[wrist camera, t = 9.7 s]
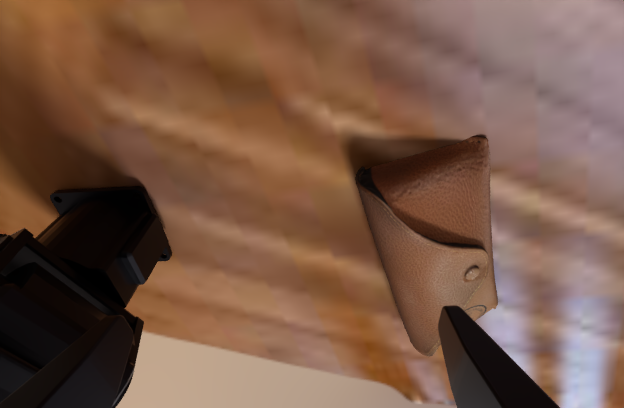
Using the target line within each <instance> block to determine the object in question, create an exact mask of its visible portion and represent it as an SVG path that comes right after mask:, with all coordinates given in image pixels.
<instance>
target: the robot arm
mask: <svg viewBox="0 0 624 408" xmlns="http://www.w3.org/2000/svg"><path fill="white" fill-rule="evenodd" d="M136 193H139V194H140V195H141V196H140V195H137V194H136ZM60 198H61V199H60ZM50 199H51V201H52V203H53V204H54V206H55V207H56V209H57V211H58V212H59V214H60V216H59V217H58V218H57V219H56V220H55V221H53V222H52V223H51V224H50V225H49V226H48V227H47V228H46V229H45V230H44V231H43V232H41V233H40V234H39V235H38V236H37V237H36V238H34V237H33V234H32V233H30V232H29V231H28V230H27V229H25V228H23V229H22V230H20V231H18V232H16V233H14V234H12V235H6V234H0V408H115V407H116V406H117V405H118V403H119V402H120V401H121V399H122V398H123V396H124V394H125V393H126V391H127V389H128V387H129V385H130V383H131V380H132V376H133V372H134V367H135V363H136V358H137V353H138V348H139V343H140V339H141V334H142V329H143V324H144V321H142V320H141V319H140V318H139V317H135V316H133V315H132V314H131V313H130V312H128V311H127V310H126V309H124V308H125V307H126V306H127V304H128V303H129V301H130V299H131V297H132V296H133V294H134V292H135V291H136V289H137V287H138V285H141V284H144V283H145V282H146V281H147V279H148V277H149V276H150V274H151V272H152V270H153V269H154V267H155V265H156V263H157V262H158V261H168V260H169V259H170V258H171V256H172V251H171V249H170V247H169V244H168V239H167V237H166V235H165V232H164V230H163V227H162V225H161V222H160V220H159V218H158V216H157V215H156V213H155V211H154V208H153V206H152V204H151V201H150V199H149V196H148V194H147V192H146V190H145V189H144V188H142V187H139V186H132V187H112V188H92V189H73V190H57V191H55V192H54V193H52V194H51V195H50ZM164 254H165V255H164ZM438 332H439V336H440V341H441V345H442V350H443V355H444V359H445V364H446V368H447V373H448V377H449V381H450V385H451V390H452V393H453V396H454V399H455V402H456V405H457V408H560V407H559V406H558V405H557V404H556V403H555V402H554V401H553V400H552V399H551V398H550V397H549V396H548V395H547V394H546V393H545V392H544V391H543V390H542V389H541V388H540V387H539V386H538V385H537V384H536V383H535V382H534V381H533V380H532V379H531V378H530V377H529V376H528V375H527V374H526V373H525V372H524V371H523V370H522V369H521V368H520V367H519V366H518V365H517V364H516V363H515V362H514V361H513V360H512V359H511V358H510V357H509V356H508V355H507V354H506V353H505V352H504V351H503V349H502V348H501V347H500V346H499V345H498V344H497V343H496V342H495V341H494V340H493V339H492V338H491V337H490V336H489V335H488V334H487V333H486V332H485V331H484V330H483V329H482V328H481V327H480V326H479V325H478V324H477V323H476V322H475V321H474V320H473V319H472V318H471V317H470V316H469V315H468V314H467V313H466V312H465V311H464V310H463V309H462V308H461V307H459V306H457V305H448V306H443V307H442V310H441V314H440V318H439V322H438Z"/></svg>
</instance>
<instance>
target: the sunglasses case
mask: <svg viewBox="0 0 624 408" xmlns="http://www.w3.org/2000/svg"><path fill="white" fill-rule="evenodd" d="M355 180H356V184H357V187H358V189H359V193H360V196H361V200H362V203H363V206H364V209H365V213H366V216H367V219H368V222H369V225H370V229H371V231H372V234H373V237H374V240H375V243H376V246H377V250H378V252H379V255H380V258H381V260H382V263H383V266H384V269H385V272H386V275H387V278H388V281H389V284H390V287H391V290H392V293H393V295H394V298H395V301H396V304H397V307H398V310H399V313H400V316H401V318H402V321H403V324H404V327H405V329H406V332H407V334H408V336H409V338H410V342H411V343H412V344H413V346H414V347H415V349H416V350H417V351H418V352H420V353H421V354H423V355H425V356H432V355H433V354H434V353H435V351H436V350H437V349H438V347H439V346H440V345H441V341H440V336H439V332H438V322H439V318H440V314H441V310H442V307H443V306H448V305H457V306H459V307H461V308H462V309H463V310H464V311H465V312H466V313H467V314H468V315H469V316H470V317H471V318H472V319H473V320H474V321H475V320H477V319H478V318H480V317H481V316H482V315H484V314H485V313H486V312H488V311H490V310H491V309H493V308H494V309H495V308H496V306H497V305H498V298H497V291H496V285H495V277H494V266H493V252H492V233H491V215H490V214H491V211H490V152H489V145H488V139H487V138H485V137H481V136H472V137H470V138H468V139H466V140H464V141H462V142H460V143H457V144H454V145H449V146H446V147H442V148H438V149H435V150H432V151H427V152H424V153H421V154H416V155H413V156H409V157H406V158H402V159H397V160H395V161H391V162H388V163H385V164H380V165H377V166H374V167H371V168H369V169H368V170H365V168H364V167H361V168H360V169H359V171H358V172H357V174H356V177H355Z"/></svg>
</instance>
